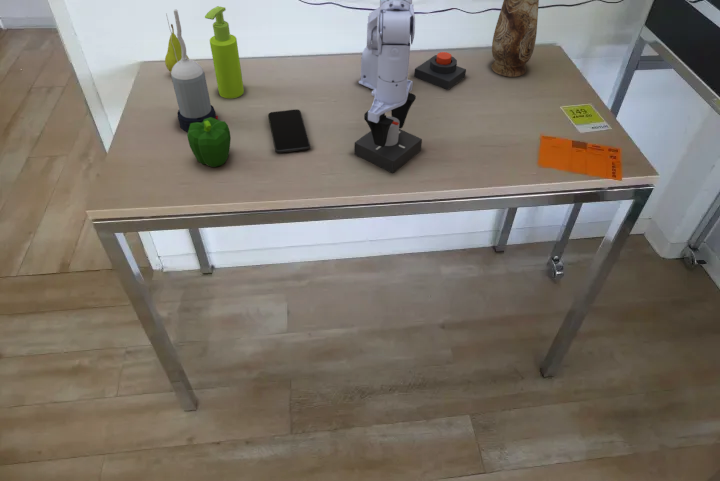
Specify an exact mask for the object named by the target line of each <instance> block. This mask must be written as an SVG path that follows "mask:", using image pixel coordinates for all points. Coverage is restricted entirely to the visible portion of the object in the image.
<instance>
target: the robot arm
mask: <svg viewBox="0 0 720 481" xmlns="http://www.w3.org/2000/svg"><path fill="white" fill-rule="evenodd" d="M415 33H416V15H415V8H414V4H413V0H379V7H377V8H376V9H374V10H372V11H370V12H369V15H368V16H367V24H366V46H365V47H364V49H363V51H362V53H361V56H360V80H358V84H359V85H361V86H364V87H366V88H368V89H371V90H372V91H371V96H373V97H374V98H373V101H372V104H371V107H370V109H368V110H367V111H366V112H365V113H364V114H363V119H364V121H365V122H366V124H367V125H368V128H369V129H370V131H371V132H372V136H373V140H374V143H375V145H378V146H381V147H384V146H385V144H386V140H387V135H388V131H389V128H390V126H391V124H392V122H393V121H394V120H392V119H389V118H386V117H387V115H386V113H388V112H391V117H395V118H397V119H398V120H399V122H400V124H399V129H401V130H402V128H403V127H404V125H405V123H406V119H407V116H408V114H409V111H410V109H411V107H412V105H413V104H414V102H415V100H417V95H416V94H414V93H411V92H412V90H413V84H414V83H413V80H410V79H408V77H409V66H410V65H409V64H410V55H411V45H413V43H414V40H415Z"/></svg>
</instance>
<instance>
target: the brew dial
mask: <svg viewBox="0 0 720 481" xmlns="http://www.w3.org/2000/svg"><path fill="white" fill-rule="evenodd" d="M386 118H389V119H392V120H394V121H393V122H392V124H391V126H390V128H389V131H388V135H387V140H386V144H385V146H393V145H395V144H397V143H398V136H399V129H400V128H399V124H400V122H399V120H398V119H397V118H395V117H392V115H391V116H387V115H386Z"/></svg>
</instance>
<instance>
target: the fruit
mask: <svg viewBox="0 0 720 481" xmlns="http://www.w3.org/2000/svg"><path fill="white" fill-rule="evenodd" d="M170 28H171V32H172V43H171V35H170V36H169V40H168V46H167V52H166V55H165V58H164V63H165V67H166V69H167V71H168V72H170V73H171V71H172V68H173V66H174V65H175V64H176V63H177V62H178V61H180V60H181V58H182V49H181V45H180V42H179V40H178V38H177V34H175V32H174V30H175V29H174V24H173V23H170ZM172 44H173V45H172ZM173 46H174V48H173ZM174 49H175V51H174ZM175 53H176V56H175ZM176 57H177V59H176ZM186 57H187V58H188V59H190V58H189V56H188V54H186ZM177 60H178V61H177Z"/></svg>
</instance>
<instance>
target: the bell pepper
mask: <svg viewBox="0 0 720 481" xmlns="http://www.w3.org/2000/svg"><path fill="white" fill-rule="evenodd" d="M186 136H187V141H188V144H189V148H190V150H191V152H192V154H193V156H194V157H195V159H196V161H197V162H199V163H200V164H202V165H207V166H208V167H211V168H217V167H221V166H222V165H225V163H226V161H227V160H228V158H229V154H230V149H231V148H230V147H231V139H232V138H231V131H230V127H229V125H228V123H227V122H226V121H225V120H219V119H218V120H217V119H214V118H212V117H209V118H207V119H204V120H203V122H202V123H201V122H196V123H190V127H189V130H188V132H187V134H186Z"/></svg>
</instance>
